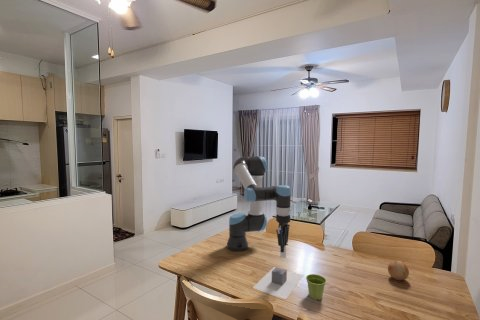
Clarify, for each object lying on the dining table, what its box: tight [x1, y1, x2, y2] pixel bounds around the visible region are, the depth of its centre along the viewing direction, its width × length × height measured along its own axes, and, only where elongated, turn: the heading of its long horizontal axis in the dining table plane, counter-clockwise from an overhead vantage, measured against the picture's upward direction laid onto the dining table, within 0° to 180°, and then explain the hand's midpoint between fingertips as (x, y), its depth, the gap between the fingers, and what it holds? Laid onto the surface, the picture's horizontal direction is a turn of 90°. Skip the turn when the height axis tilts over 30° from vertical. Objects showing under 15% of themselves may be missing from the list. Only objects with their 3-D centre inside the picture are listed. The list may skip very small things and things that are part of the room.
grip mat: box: [252, 266, 304, 300], centre depth 134 cm, size 18×26×1 cm
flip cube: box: [272, 266, 288, 285], centre depth 134 cm, size 6×6×6 cm
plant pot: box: [305, 273, 327, 301], centre depth 121 cm, size 9×9×9 cm
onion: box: [387, 259, 410, 281], centre depth 137 cm, size 10×10×10 cm
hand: (283, 257), depth 137 cm, fingers closed
